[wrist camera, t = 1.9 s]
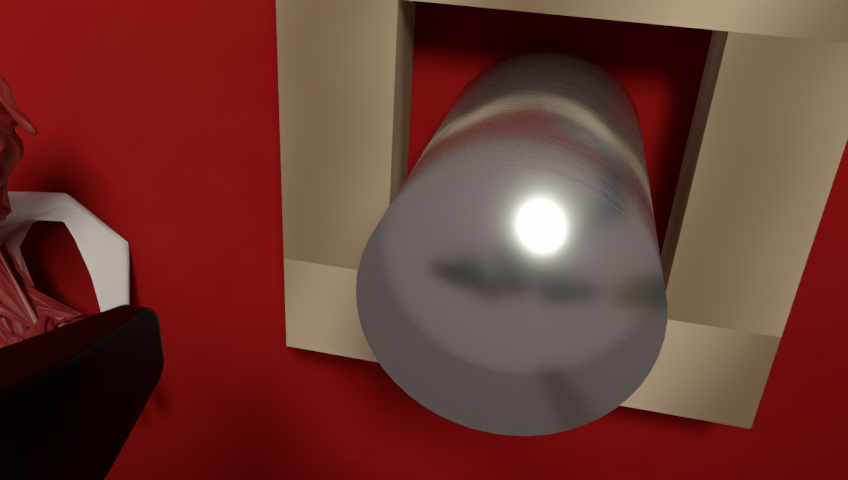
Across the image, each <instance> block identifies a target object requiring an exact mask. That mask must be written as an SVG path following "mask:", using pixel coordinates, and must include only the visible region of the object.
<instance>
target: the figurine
mask: <svg viewBox="0 0 848 480" xmlns="http://www.w3.org/2000/svg"><path fill="white" fill-rule="evenodd" d="M6 109H7V110H8V111H6ZM19 125H20V126H21V127H22V128H23V129H24V130H25V131H27V132H28V133H30V134H32V135H37V129H36V128H35V126H34V125H33V124H32V123H31V121H30V120H29V118H28V117H27V116H26V115H25V114H23V113H22V112H21V111H20V110H19V108H18V107H17V104H16V102H15V98H14V95H13V92H12V90H11V88H10V87H9V85H8V83H7V82H6V80H5V79H4V78H3V77H2V76H1V75H0V247H2V248H3V249H4V251H5V252H6V253H7V254H8V256H9V257H10V258H11V260H12V261H13V262H14V264H15V269H16V270H15V269H14V267H13V266H12V265H11V263H10V262H9V261H8V259H7V258H6V257H5V255H4V254H3V252H2V250H1V249H0V336H1V337H2V338H3V339H4V340H3V341H2V342H1V343H0V348H2V347H5V346H8V345H11V344H14V343H17V342H19V341H22V340H25V339H28V338H31V337H33V336H36V335H39V334H42V333H45V332H47V331H50V330H53V329H56V328H59V327H61V326H64V325H67V324H70V323H73V322H75V321H78V320H81V319H84V317H79V315H82V314H81V313H79V312H77V311H75V310H74V309H72V308H70V307H68V306H66V305H64V304H62V303H60V302H58V301H56V300H54V299H53V298H51V297H49V296H47V295H45V294H44V293H42V292H40V291H38V290H36V289H35V285H34V283H33V282H32V279H31V277H30V274H29V272H28V269H27V267H26V264H25V261H24V259H23V256H22V254H21V251H20V245H21V243H22V241H23V240H24V238H25V236H26V234H27V232H28V231H29V229H30V227H31V225H32V224H33V223H35V222H37V221H39V220H46V221H61V222H64V223H65V225H66V226H67V228H68V229H69V231H70V233H71V234H72V236H73V237H74V239H75V241H76V243H77V246H78V248H79V250H80V252H81V254H82V257H83V259H84V261H85V263H86V265H87V268H88V270H89V272H90V275H91V278H92V281H93V285H94V288H95V292H96V296H97V299H98V303H99V307H100V310H101V312H103V311H106V310H109V309H112V308H115V307H117V306H120V305H125V304H128V305H130V255H129V245H128V242H127V241H126V240H125V239H123V238H122V237H121V236H120V235H118V234H117V233H116V232H115V231H114V230H112V229H111V228H110V227H109V226H107V225H106V224H105V223H104V222H103V221H101V220H100V219H99V218H98V217H96V216H95V215H94V214H93V213H91V212H90V211H89V210H88V209H87V208H85V207H84V206H83V205H81V204H80V203H79V202H78V201H76V200H75V199H74V198H72V197H71V196H70V195H68V194H66V193H56V192H12V191H8V182H7V178H8V177H9V175H10V174H11V172H12V171H13V169H14V168H15V166H16V165H17V164H18V163H19V162H20V161H21V160H22V157H23V151H24V146H23V141H22V139H21V138H20V137H19V136H18V135H17V134H16V132H15V130H14V129H15V127H17V126H19ZM17 272H18V273H17ZM20 276H21V277H20ZM10 319H11V320H13V325H12V323H11V321H10Z"/></svg>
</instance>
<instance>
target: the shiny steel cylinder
mask: <svg viewBox="0 0 848 480" xmlns="http://www.w3.org/2000/svg"><path fill="white" fill-rule="evenodd" d="M356 301H357V310H358V315H359V320H360V324H361V327H362V330H363V332H364V335H365V338H366V340H367V342H368V344H369V346H370V348H371V350H372V352H373V354H374V356H375V357H376V359H377V360H378V362H379V363H380V365H381V366H382V368H383V369H384V370H385V372H386V373H387V374H388V375H389V376H390V377H391V379H392V380H393V381H394V382H395V383H396V384H397V385H398V386H399V387H400V388H401V389H402V390H403V391H404V392H406V393H407V394H408V395H409V396H410V397H412V398H413V399H414V400H416V401H417V402H418V403H420V404H421V405H422V406H424V407H426V408H427V409H429V410H431V411H432V412H434V413H436V414H437V415H440V416H442V417H444V418H446V419H448V420H450V421H452V422H455V423H458V424H460V425H463V426H466V427H469V428H472V429H476V430H480V431H484V432H488V433H495V434H502V435H512V436H534V435H547V434H552V433H558V432H563V431H567V430H570V429H574V428H577V427H580V426H583V425H585V424H588V423H590V422H592V421H594V420H597V419H599V418H601V417H602V416H604V415H606V414H607V413H609V412H611V411H612V410H614V409H615V408H617V407H618V406H619V405H620V404H622V403H623V402H624V401H626V400H627V399H628V398H629V397H630V396H631V395H632V394H633V393H634V392H635V391H636V390H637V389H638V388H639V387H640V386H641V384H642V383H643V382H644V380H645V379H646V377H647V376H648V375H649V373H650V372H651V370H652V368H653V366H654V364H655V362H656V360H657V359H658V357H659V354H660V351H661V348H662V345H663V342H664V339H665V332H666V326H667V297H666V291H665V284H664V278H663V271H662V265H661V258H660V252H659V245H658V239H657V232H656V226H655V219H654V213H653V206H652V200H651V193H650V187H649V180H648V174H647V167H646V161H645V154H644V148H643V141H642V134H641V128H640V122H639V116H638V113H637V110H636V106H635V104H634V102H633V100H632V98H631V95H630V93H629V92H628V90H627V89H626V87H625V86H624V84H623V83H622V82H621V81H620V80H619V78H618V77H617V76H616V75H615V74H614V73H613V72H612V71H611V70H609V69H608V68H607V67H606V66H605V65H603V64H602V63H600V62H599V61H597V60H596V59H594V58H592V57H590V56H588V55H586V54H584V53H582V52H578V51H575V50H572V49H569V48H563V47H557V46H534V47H527V48H522V49H518V50H515V51H512V52H509V53H506V54H504V55H502V56H500V57H498V58H496V59H494V60H493V61H491V62H490V63H488V64H487V65H486V66H484V67H483V68H482V69H481V70H479V71H478V72H477V73H476V74H475V75H474V76H473V77H472V78H471V80H470V81H469V82H468V83H467V85H466V86H465V87H464V89H463V90H462V92H461V94H460V95H459V97H458V98H457V100H456V102H455V103H454V105H453V106H452V108H451V109H450V111H449V113H448V114H447V116H446V117H445V119H444V120H443V122H442V124H441V125H440V127H439V128H438V130H437V131H436V133H435V135H434V136H433V138H432V139H431V141H430V142H429V144H428V146H427V147H426V149H425V150H424V152H423V153H422V155H421V157H420V158H419V160H418V161H417V163H416V165H415V166H414V168H413V169H412V171H411V172H410V174H409V176H408V177H407V179H406V180H405V182H404V183H403V185H402V187H401V188H400V190H399V191H398V193H397V194H396V196H395V198H394V199H393V201H392V202H391V204H390V205H389V207H388V209H387V210H386V212H385V213H384V215H383V217H382V218H381V220H380V221H379V223H378V224H377V226H376V228H375V229H374V231H373V233H372V234H371V236H370V237H369V239H368V241H367V244H366V246H365V248H364V251H363V253H362V256H361V260H360V264H359V268H358V272H357V282H356Z"/></svg>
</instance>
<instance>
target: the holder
mask: <svg viewBox="0 0 848 480" xmlns="http://www.w3.org/2000/svg"><path fill="white" fill-rule="evenodd" d="M416 1H420V2H431V3H441V4H451V5H462V6H472V7H482V8H492V9H503V10H513V11H523V12H534V13H544V14H554V15H564V16H575V17H585V18H595V19H606V20H616V21H626V22H636V23H647V24H657V25H667V26H678V27H688V28H698V29H709V30H713V31H712V36H711V40H710V44H709V49H708V53H707V57H706V62H705V66H704V70H703V75H702V79H701V83H700V88H699V92H698V96H697V101H696V105H695V109H694V114H693V118H692V122H691V127H690V131H689V135H688V140H687V144H686V148H685V153H684V157H683V161H682V166H681V170H680V174H679V179H678V183H677V187H676V192H675V196H674V200H673V205H672V209H671V213H670V218H669V222H668V226H667V231H666V235H665V239H664V244H663V248H662V252H661V257H660V258H661V265H662V271H663V278H664V284H665V291H666V297H667V326H666V332H665V339H664V342H663V345H662V348H661V351H660V354H659V357H658V359H657V360H656V362H655V364H654V366H653V368H652V370H651V372H650V373H649V375H648V376H647V377H646V379H645V380H644V382H643V383H642V384H641V386H640V387H639V388H638V389H637V390H636V391H635V392H634V393H633V394H632V395H631V396H630V397H629V398H628V399H627V400H626V401H624V402H623V403H622V404H620V406H625V407H631V408H637V409H642V410H648V411H653V412H659V413H665V414H670V415H676V416H681V417H687V418H693V419H698V420H704V421H709V422H715V423H721V424H726V425H732V426H737V427H743V428H749V429H751V426H752V423H753V420H754V417H755V414H756V411H757V408H758V405H759V402H760V399H761V396H762V393H763V390H764V387H765V384H766V381H767V378H768V375H769V372H770V369H771V366H772V363H773V360H774V357H775V354H776V351H777V349H778V346H779V343H780V340H781V337H782V334H783V331H784V328H785V325H786V322H787V319H788V316H789V313H790V310H791V307H792V304H793V301H794V298H795V295H796V292H797V289H798V286H799V283H800V280H801V277H802V274H803V271H804V268H805V265H806V262H807V259H808V256H809V253H810V250H811V247H812V244H813V241H814V238H815V235H816V232H817V229H818V226H819V223H820V220H821V217H822V214H823V211H824V208H825V205H826V202H827V199H828V196H829V193H830V190H831V187H832V184H833V181H834V178H835V175H836V172H837V169H838V166H839V163H840V160H841V157H842V154H843V151H844V148H845V145H846V142H847V139H848V0H276V21H277V54H278V86H279V119H280V151H281V184H282V216H283V248H284V281H285V313H286V346H289V347H295V348H300V349H306V350H312V351H317V352H323V353H328V354H334V355H340V356H345V357H351V358H356V359H362V360H368V361H373V362H378V360H377V359H376V357H375V356H374V354H373V352H372V350H371V348H370V346H369V344H368V342H367V340H366V338H365V335H364V332H363V330H362V327H361V324H360V320H359V315H358V310H357V301H356V282H357V272H358V268H359V264H360V260H361V256H362V253H363V251H364V248H365V246H366V244H367V241H368V239H369V237H370V236H371V234H372V233H373V231H374V229H375V228H376V226H377V224H378V223H379V221H380V220H381V218H382V217H383V215H384V213H385V212H386V210H387V209H388V207H389V205H390V204H391V202H392V201H393V199H394V198H395V196H396V194H397V193H398V191H399V190H400V188H401V187H402V185H403V183H404V182H405V180H406V179H407V168H408V148H409V129H410V110H411V91H412V71H413V52H414V33H415V14H416Z"/></svg>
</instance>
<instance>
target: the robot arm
mask: <svg viewBox="0 0 848 480" xmlns="http://www.w3.org/2000/svg"><path fill="white" fill-rule="evenodd" d="M163 365H164V357H163V349H162V341H161V333H160V325H159V319H158V316H157V314H156V312H155V311H154V310H152V309H151V308H146V307H140V306H135V305H128V304H125V305H120V306H117V307H115V308H112V309H109V310H106V311H103V312H101V313H98V314H95V315H92V316H89V317H87V318H84V319H81V320H78V321H75V322H73V323H70V324H67V325H64V326H61V327H59V328H56V329H53V330H50V331H47V332H45V333H42V334H39V335H36V336H33V337H31V338H28V339H25V340H22V341H19V342H17V343H14V344H11V345H8V346H5V347H2V348H0V480H104V478H105V477H106V475H107V474H108V472H109V470H110V469H111V467H112V465H113V463H114V462H115V460H116V458H117V457H118V455H119V453H120V451H121V449H122V447H123V445H124V444H125V442H126V440H127V438H128V436H129V434H130V433H131V431H132V429H133V427H134V425H135V423H136V422H137V420H138V418H139V416H140V414H141V412H142V411H143V409H144V407H145V405H146V403H147V401H148V400H149V398H150V396H151V394H152V392H153V390H154V388H155V387H156V385H157V383H158V381H159V379H160V377H161V374H162V371H163Z"/></svg>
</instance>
